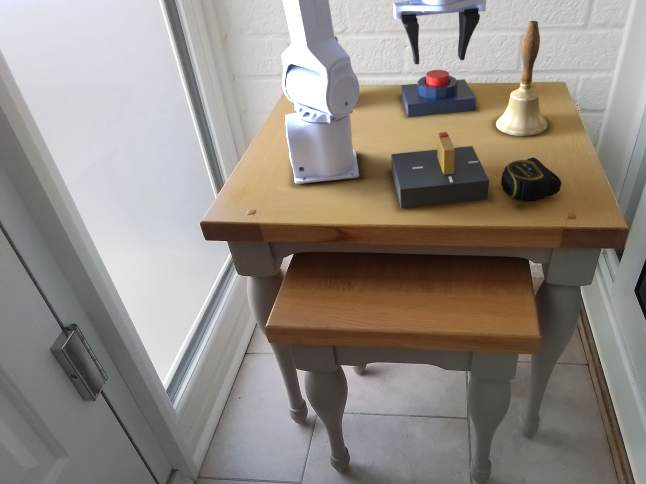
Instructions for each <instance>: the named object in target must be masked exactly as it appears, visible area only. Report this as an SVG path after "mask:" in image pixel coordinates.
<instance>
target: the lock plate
mask: <svg viewBox="0 0 646 484" xmlns="http://www.w3.org/2000/svg"><path fill="white" fill-rule="evenodd" d="M437 150H438V148H437V149H429V150H427V149H426V150H417V151H407V152H400V153H399V152H398V153H391V172H392V173H391V174H392V177H393V182H394V186H395V189H396V193H397V198H398V202H399V207H400V209H410V208H417V207H418V208H419V207H428V206H438V205H447V204H457V203H465V202H477V201H484V200H485V201H486V200H488V199H489V191H490V178H489V177H488V174H487V172H486V171H485V168H484V166H483V164H482V162H481V161H480V158H479V156H478V155H477V152H476V150H475V148H474V147H473V145H469V146H458V147H454V150H455V153H454V174H446V175H444V174H443V172H442V169H441V166H440V163H439V160H438V157H437Z"/></svg>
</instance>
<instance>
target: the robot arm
mask: <svg viewBox="0 0 646 484" xmlns="http://www.w3.org/2000/svg"><path fill="white" fill-rule="evenodd" d="M282 2H283V7H284V11H285V16H286V20H287V21H286V22H287V26H288V31H289V35H290V40H291V43H290V45H289V46H288V47H287V48H286V49H285V50H284V51H283V53H282V54H281V59H282V66H283V73H282V83H281V85H282V89H283V92H284V95H285V96H286V98H287V99H288V100H289V101H290V102H292V103H293V104H294V111H296V112H294V113H289V114H286V115H285V116H284V117H285V119H284V120H285V131H286V140H287V147H288V150H289V161H290V164H291V167H292V173H293V178H294V183H295V184H297V185H299V184H309V183H318V182H319V183H320V182H328V181H329V182H330V181H338V180H339V181H340V180H347V179H357V178H359V177H360V172H359V166H358V159H357V152H356V150H354V142H353V132H352V123H351V114H353V113H354V109H355V108H356V105H357V103H358V100H359V97H360V82H359V79H358V77H357V75H356V73H355V71H354V69H353V67H352V63H351V56H350V55H349V54H348V53H347V51H346V50H345V48H343V46H342V45H341V44H340V43H339V41H338V42H337V40H336V39H335V37H336V36H335V32H334V25H333V20H332V13H331V6H330V1H329V0H282ZM392 5H393V6H392V7H393V17H394V19H395V20H400V21H401V23H402V25H403V28H404V30H405V32H406V34H407V39H408V41H409V44H410V49H411V52H412V58H413V59H412V60H413V63H414V65H420V50H419V38H420V37H419V34H420V24H419V22H418V21H419V19H418V17H421V16H433V15H443V14H445V15H446V14H453V13H454V14H457V13H458V44H457V57H458V59H459V60H460V61H465V58H466V54H467V50H468V46H469V43H470V41H471V39H472V36H473V33H474V31H475V30H476V28H477V26H478V24H479V22H480V19H481V14H480V13H481V12H486V8H487V7H486V6H487V0H405V1H399V2H398V1H397V2H393V3H392Z"/></svg>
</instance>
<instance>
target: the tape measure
mask: <svg viewBox="0 0 646 484" xmlns="http://www.w3.org/2000/svg"><path fill="white" fill-rule="evenodd" d="M500 185H501V187H502V190H503V192H504V193H505V194H506V196H508V197H510V198H511V199H513V200H516V201H520V202H526V203H527V202H528V203H529V202H531V203H533V202H539V201H541V200H544V199H545V198H549V197H551V196H555V195H557V194H558V193H559V192H560V191H561V189H562V180H561V178H560V177H559V176H558V175H557V174H556V173H555V172H553V171H552V170H550V169H549V167H546V166H545V165H544V164H543V163H542V162H541V161H540V160H539V159H538V158H536V157H533V156H532V157H530V158H527V159H516V160H513V161H511V162H510V163H508V164H507V165H505V167H504V169H503V171H502V173H501V179H500Z"/></svg>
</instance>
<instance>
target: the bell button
mask: <svg viewBox="0 0 646 484" xmlns="http://www.w3.org/2000/svg"><path fill="white" fill-rule="evenodd" d="M449 75H450V72H449V71H447V70H445V69H432V70H429V71H427V72H426V73H425V76H426V84H427V85H429V86H435V87H438V86H445V85H447V84H449Z"/></svg>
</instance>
